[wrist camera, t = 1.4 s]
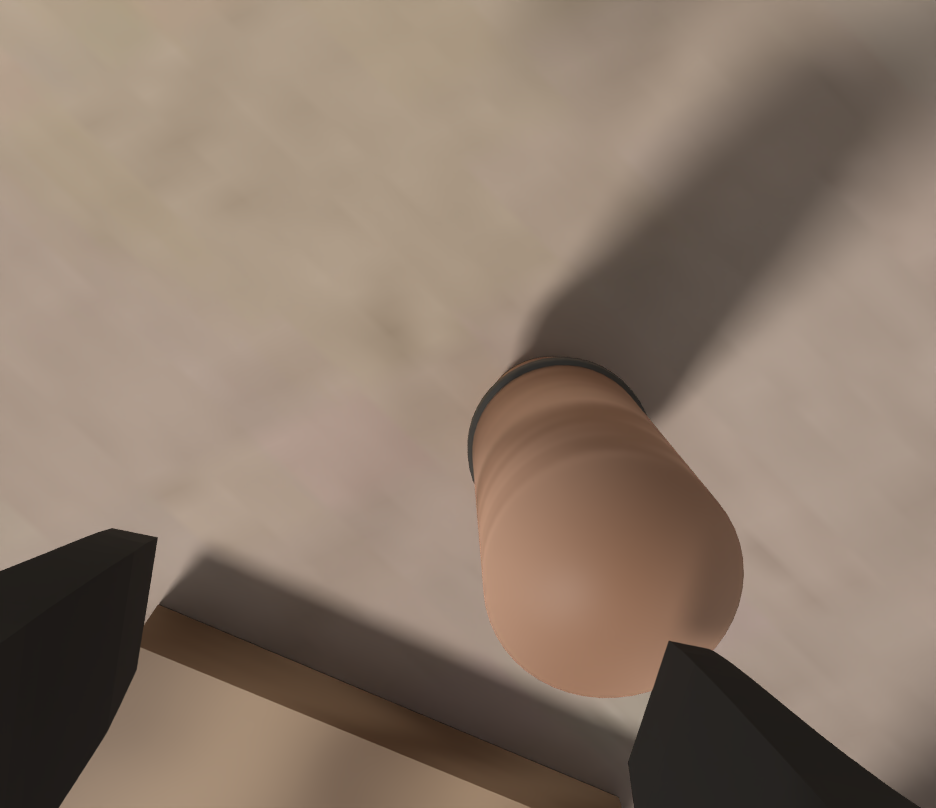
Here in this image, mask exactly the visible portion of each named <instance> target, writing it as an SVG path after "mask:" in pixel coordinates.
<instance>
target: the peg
mask: <svg viewBox="0 0 936 808" xmlns="http://www.w3.org/2000/svg"><path fill="white" fill-rule="evenodd" d="M468 461H469V468H470V472H471V476H472V479H473V482H474V484H475V494H476V506H477V518H478V530H479V542H480V554H481V566H482V578H483V590H484V598H485V605H486V610H487V613H488V617H489V620H490V623H491V625H492V627H493V630H494V632H495V634H496V636H497V638H498V639H499V641H500V642H501V644H502V646H503V647H504V649H505V650H506V651H507V652H508V654H509V655H510V656H511V657H512V658H513V659H514V661H516V662H517V663H518V664H519V665H520V666H521V667H522V668H523V669H524V670H526V671H527V672H528V673H530V674H531V675H533V676H534V677H536V678H537V679H539V680H540V681H542V682H544V683H546V684H548V685H550V686H552V687H554V688H557V689H560V690H563V691H566V692H568V693H573V694H577V695H582V696H588V697H598V698H617V697H625V696H633V695H637V694H641V693H645V692H649V691H652V689H653V686H654V683H655V680H656V677H657V674H658V671H659V668H660V665H661V662H662V659H663V656H664V653H665V650H666V647H667V644H668V641H673V642H678V643H683V644H688V645H692V646H697V647H702V648H707V649H711V650H712V651H713V650H714V649H715V648H716V646H717V645H718V644H719V642H720V641H721V639H722V638H723V637H724V635H725V634H726V632H727V630H728V628H729V626H730V625H731V623H732V621H733V619H734V616H735V614H736V611H737V608H738V606H739V602H740V598H741V593H742V588H743V577H744V570H743V556H742V551H741V546H740V542H739V539H738V537H737V534H736V531H735V528H734V526H733V525H732V523H731V521H730V519H729V517H728V515H727V514H726V512H725V511H724V510H723V508H722V507H721V505H720V504H719V503H718V501H717V500H716V499H715V498H714V497H713V495H712V494H711V493H710V492H709V491H708V489H707V488H706V487H705V486H704V484H703V483H702V482H701V481H700V480H699V478H698V477H697V476H696V475H695V474H694V472H693V471H692V470H691V469H690V468H689V466H688V465H687V464H686V463H685V462H684V460H683V459H682V458H681V457H680V455H679V454H678V453H677V452H676V451H675V449H674V448H673V447H672V446H671V445H670V443H669V442H668V441H667V440H666V439H665V437H664V436H663V435H662V434H661V433H660V431H659V430H658V429H657V428H656V426H655V425H654V424H653V423H652V422H651V420H650V419H649V418H648V417H647V415H646V412H645V410H644V408H643V407H642V405H641V403H640V401H639V400H638V398H637V397H636V396H635V394H634V393H633V392H632V390H631V389H630V388H629V387H628V386H627V385H626V384H625V383H624V382H623V381H622V380H621V379H620V378H619V377H617V376H616V375H615V374H613V373H612V372H611V371H609V370H607V369H605V368H604V367H602V366H600V365H597V364H595V363H592V362H590V361H586V360H582V359H578V358H570V357H540V358H535V359H531V360H528V361H525V362H523V363H520V364H518V365H517V366H515V367H513V368H512V369H510V370H509V371H508V372H506V373H505V374H504V375H503V376H502V377H501V378H500V379H499V380H498V381H497V382H496V383H495V384H494V385H493V386H492V387H491V388H490V389H489V391H488V392H487V393H486V394H485V396H484V397H483V398H482V400H481V402H480V403H479V405H478V407H477V409H476V411H475V413H474V416H473V418H472V421H471V425H470V429H469V435H468Z"/></svg>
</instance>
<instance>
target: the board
mask: <svg viewBox="0 0 936 808" xmlns="http://www.w3.org/2000/svg"><path fill="white" fill-rule="evenodd" d="M59 808H621V804H620V800H619V797H617V796H614V795H612V794H610V793H607V792H605V791H602V790H600V789H598V788H595V787H593V786H590V785H588V784H586V783H583V782H581V781H578V780H576V779H574V778H571V777H569V776H567V775H564V774H562V773H559V772H557V771H555V770H552V769H550V768H547V767H545V766H543V765H540V764H538V763H536V762H533V761H531V760H528V759H526V758H524V757H521V756H519V755H516V754H514V753H512V752H509V751H507V750H504V749H502V748H500V747H497V746H495V745H493V744H490V743H488V742H485V741H483V740H481V739H478V738H476V737H473V736H471V735H469V734H466V733H464V732H461V731H459V730H457V729H454V728H452V727H450V726H447V725H445V724H442V723H440V722H438V721H435V720H433V719H430V718H428V717H426V716H423V715H421V714H418V713H416V712H414V711H411V710H409V709H407V708H404V707H402V706H399V705H397V704H395V703H392V702H390V701H387V700H385V699H383V698H380V697H378V696H375V695H373V694H371V693H368V692H366V691H364V690H361V689H359V688H356V687H354V686H352V685H349V684H347V683H344V682H342V681H340V680H337V679H335V678H332V677H330V676H328V675H325V674H323V673H321V672H318V671H316V670H313V669H311V668H309V667H306V666H304V665H301V664H299V663H297V662H294V661H292V660H289V659H287V658H285V657H282V656H280V655H278V654H275V653H273V652H270V651H268V650H266V649H263V648H261V647H258V646H256V645H254V644H251V643H249V642H246V641H244V640H242V639H239V638H237V637H235V636H232V635H230V634H227V633H225V632H223V631H220V630H218V629H215V628H213V627H211V626H208V625H206V624H204V623H201V622H199V621H196V620H194V619H192V618H189V617H187V616H184V615H182V614H180V613H177V612H175V611H172V610H170V609H168V608H165V607H163V606H161V605H157V607H156V608H155V610H154V611H153V613H152V614H151V616H150V617H149V619H148V620H147V622H146V623H145V625H144V627H143V633H142V640H141V646H140V652H139V659H138V665H137V670H136V673H135V675H134V677H133V679H132V681H131V683H130V686H129V688H128V690H127V692H126V694H125V696H124V699H123V701H122V703H121V705H120V707H119V709H118V711H117V713H116V715H115V717H114V719H113V721H112V723H111V726H110V728H109V730H108V732H107V734H106V735H105V737H104V738H103V740H102V742H101V743H100V745H99V746H98V748H97V749H96V751H95V753H94V754H93V756H92V757H91V759H90V760H89V762H88V763H87V765H86V767H85V768H84V770H83V771H82V773H81V774H80V776H79V777H78V779H77V781H76V782H75V784H74V785H73V787H72V788H71V790H70V791H69V793H68V794H67V796H66V797H65V799H64V801H63V802H62V804H61V805H60V807H59Z"/></svg>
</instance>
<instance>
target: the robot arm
mask: <svg viewBox="0 0 936 808" xmlns="http://www.w3.org/2000/svg"><path fill="white" fill-rule="evenodd" d="M157 539H158V537H153V536H148V535H143V534H138V533H133V532H128V531H123V530H118V529H113V528H111V529H108V530H104V531H101V532H98V533H95V534H93V535H90V536H87V537H85V538H82V539H80V540H77V541H75V542H72V543H70V544H67V545H65V546H62V547H60V548H57V549H55V550H52V551H50V552H47V553H45V554H42V555H40V556H37V557H35V558H32V559H30V560H27V561H25V562H22V563H20V564H17V565H15V566H12V567H10V568H7V569H5V570H2V571H0V808H59V807H60V805H61V804H62V802H63V801H64V799H65V797H66V796H67V794H68V793H69V791H70V790H71V788H72V787H73V785H74V784H75V782H76V781H77V779H78V777H79V776H80V774H81V773H82V771H83V770H84V768H85V767H86V765H87V763H88V762H89V760H90V759H91V757H92V756H93V754H94V753H95V751H96V749H97V748H98V746H99V745H100V743H101V742H102V740H103V738H104V737H105V735H106V734H107V732H108V730H109V728H110V726H111V723H112V721H113V719H114V717H115V715H116V713H117V711H118V709H119V707H120V705H121V703H122V701H123V699H124V696H125V694H126V692H127V690H128V688H129V686H130V683H131V681H132V679H133V677H134V675H135V673H136V670H137V665H138V659H139V652H140V646H141V640H142V633H143V627H144V621H145V615H146V608H147V602H148V596H149V589H150V583H151V577H152V570H153V564H154V558H155V551H156V545H157ZM628 765H629V772H630V780H631V787H632V795H633V802H634V808H920V807H919V806H917V805H916V804H914V803H912V802H911V801H909V800H908V799H907V798H905V797H904V796H902V795H901V794H899V793H898V792H896V791H895V790H894V789H892V788H891V787H889V786H888V785H886V784H885V783H884V782H882V781H881V780H880V779H878V778H877V777H876V776H874V775H873V774H871V773H870V772H869V771H867V770H866V769H865V768H863V767H862V766H861V765H859V764H858V763H857V762H855V761H854V760H853V759H851V758H850V757H848V756H847V755H846V754H844V753H843V752H842V751H841V750H839V749H838V748H837V747H835V746H834V745H833V744H832V743H830V742H829V741H828V740H826V739H825V738H824V737H823V736H821V735H820V734H819V733H818V732H816V731H815V730H814V729H813V728H811V727H810V726H809V725H808V724H806V723H805V722H804V721H803V720H801V719H800V718H799V717H798V716H797V715H795V714H794V713H793V712H792V711H790V710H789V709H788V708H787V707H786V706H784V705H783V704H782V703H781V702H779V701H778V700H777V699H776V698H775V697H773V696H772V695H771V694H770V693H768V692H767V691H766V690H765V689H763V688H762V687H761V686H760V685H759V684H757V683H756V682H755V681H754V680H752V679H751V678H750V677H749V676H747V675H746V674H745V673H743V672H742V671H741V670H740V669H738V668H737V667H736V666H734V665H733V664H732V663H730V662H729V661H728V660H726V659H725V658H723V657H722V656H720V655H719V654H717V653H716V652H714V651H712V650H711V649H707V648H702V647H697V646H692V645H688V644H683V643H678V642H673V641H668V644H667V647H666V650H665V653H664V656H663V659H662V662H661V665H660V668H659V671H658V674H657V677H656V680H655V683H654V686H653V689H652V692H651V695H650V698H649V701H648V704H647V707H646V710H645V713H644V716H643V719H642V722H641V725H640V728H639V731H638V734H637V737H636V740H635V743H634V746H633V749H632V752H631V755H630V758H629V761H628Z"/></svg>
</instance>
